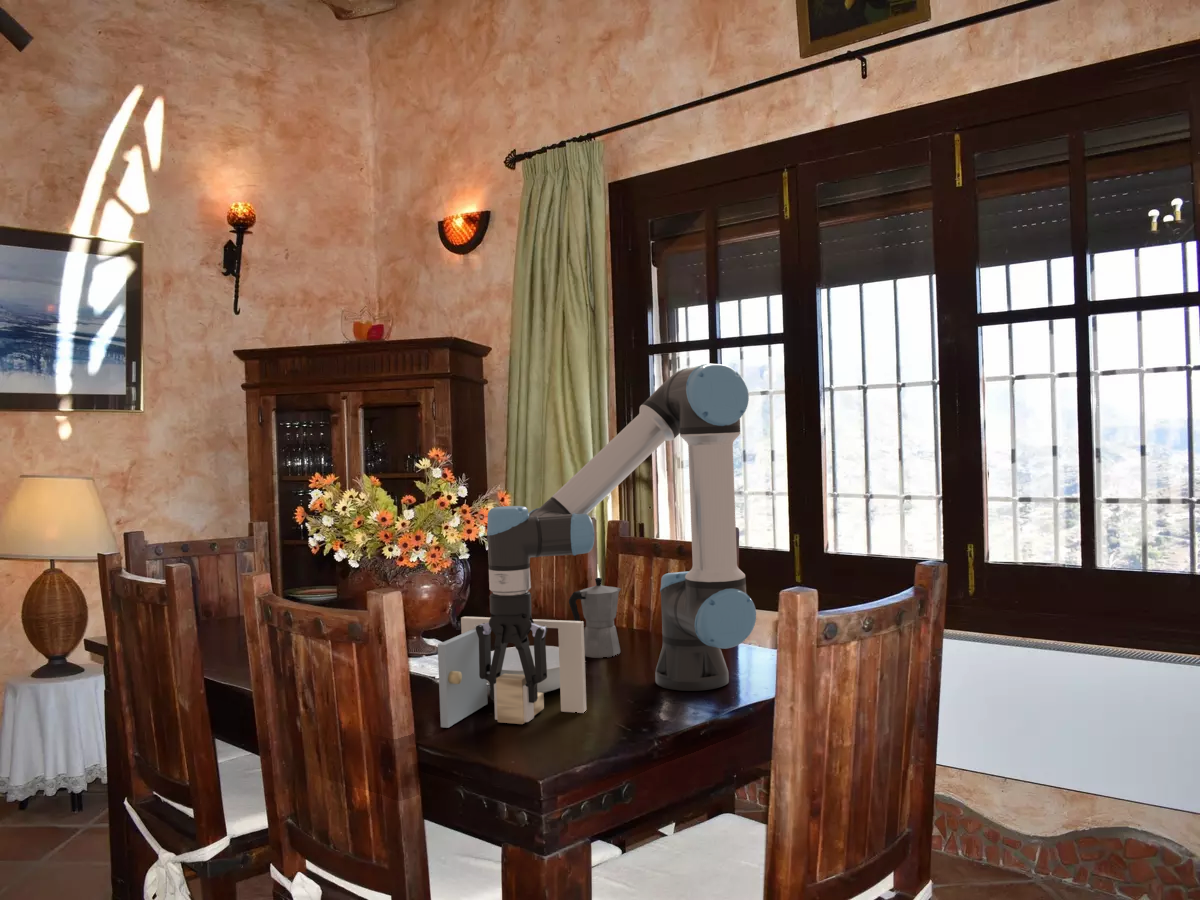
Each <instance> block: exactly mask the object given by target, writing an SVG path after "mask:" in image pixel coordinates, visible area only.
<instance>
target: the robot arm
mask: <svg viewBox="0 0 1200 900" xmlns="http://www.w3.org/2000/svg"><path fill="white" fill-rule="evenodd" d="M749 395H750V394H749V389H748V386H747V384H746V381H745V379H744V378H743V377H742V375H741V374H739V372H738V371H736V370H735V369H734V368H732V367H730V366H729V365H724V364H720V363H706V364H701V365H698V366H694V367H693V366H692V367H687V368H681V369H680V370H678V371H676V372H674V373H673V374H672V375H671V376H669V377H668V378H667V379H666V380H665V381H664V382H663V383H662V384H661V385H660V386H659V387H658V388H657V389H656V390H655V391H654V392H653V393H652V394H651V395H650V396H649V397H648V398H647V399H646V400H645V401H644V402H642V403H641V405H640V406H639V413H638V414H637V416H635V417H634V418H633V419H632V420H631V421H630V422H629V423H627V425H626V426H625V427H624V428H623V429H622V430H620V431H619V433H617V434H616V435H615V436H614V437H613V438H612V439H611V440H610V441H609V442H607V444H606V445H605V446H604V447H602V449H600V450H599V451H598V452H597V453H596V454H595V455H594V456H593V457H592V458H591V459H590V460H589V461H588V462H586V463H585V465H583V467H581V469H579V470H578V471H577V472H576V473H575V474H574V475H572V477H571V478H570V479H569V480H567V482H566V483H564V485H563V486H561V487H560V488H559V489H558V490H557V491H556V492H555V493H554V494H553V495H552V496H551V497H550V498H549V499H548V500H546V501H545V502H544V503H543V504H542V505H541V506H540V507H538V508H535V509H532V510H530V511H529V509H528V508H527V507H526V506H522V505H507V506H506V505H505V506H496V507H492V508H491V509H490V510H489V511H488V513H487V530H486V535H487V553H488V554H487V557H488V558H487V559H488V584H489V590H490V591H491V593H490V595H489V613H490V617H489V618H490V620H489V622H488V623H482V624H480V625H478V626H476V632H477V635H478V638H479V676H480V678H481V679H486V680H488V681H489V683H490V685H489V698H490V700H491V701H493V703H494V720H497V721H498V717H497V685H496V678H498V677H499V676H501V671H502V666H503V661H504V656H505V652H506V648H508V647H507V646H508V645H509V643H511V644H513V645H514V647H516V649H517V650H518V653H519V657H520V660H521V664H522V668H523V671H524V675H525V679H526V682H527V683H526V684H525V685H524V686H523V705H524V722H525V723H529V722H530V721H531V720H534V719H535V716H534V704H533V703H534V702H536V701H537V699H538V693H537V684H538V683H540V682H542V681H543V680H545V679H546V678H547V665H546V646H547V644H546V637H547V634H548V630H549V628H547V626H539V625H537V624H534V621H533V617H532V593H531V592H530V591H529V590H531V588H532V582H531V558H540V557H553V556H555V557H558V556H577V555H583V554H588V553H590V552H591V551H592V550H593V547H594V544H595V528H594V523H593V520H592V518H591V516H590V515H589V514H590V513H591V512H592V511H593V510H594V509H595V508H596V507H597V506H598V505H599V504H600V503H601V502H602V501H604V500H605V498H606V497H608V495H610V494H611V493H612V492H613V491H614V490H615V489H616V488H617V487H618V486H619V485H620V484H621V483H622V482H623V481H624V480H625V479H627V478H628V477H629V475H630V474H632V473H633V472H634V471H635V470H636V469H637V468H638V467H639V466H640V465H641V464H642V463H643V462H644V461H646V459H647V458H649V456H651V455H652V454H653V453H654V451H656V450H657V449H658V448H659V447H660V446H661V445H662V444H664V442H666V441H668V442H671V441H674V439H676V437H678V436H680V438H681V439H683V441H685V442H686V444H687V445H688V450H687V451H688V472H689V475H688V476H689V495H690V496H689V499H690V500H689V502H690V525H691V526H690V527H691V528H690V529H691V530H690V532H691V554H692V555H691V556H692V567H691V569H690V570H689V571H679V572H676V571H675V572H668V573H665V574H663V575H662V576H661V578H660V579H661V580H660V589H659V593H660V605H661V609H660V610H661V624H662V625H661V627H662V628H661V630H662V631H661V633H662V648H661V651H660V654H659V658H658V662H657V665H656V668H655V684H656V685H657V686H659V687H661V688H662V689H663V688H664V689H667V690H673V691H674V690H675V691H683V692H691V691H692V692H694V691H695V692H698V691H701V692H702V691H709V690H715V689H718V688H722V687H724V686H726V685H728V684H729V682H730V681H729V670H728V667H727V663H726V660H725V658H724V654H723V652H722V649H723V650H724V649H725V650H727V649H731V648H734V647H738V646H740V645H741V644H742V643H744V642H745V641H746V640H747V638H748V637H749V636H750V635H751V634H752V632H753V631H754V629H755V627H756V626H755V625H756V622H757V609H756V605H755V603H754V601H753V600H752V598H751V597H750V595H748V593H747V583H746V574H745V573H744V572H743V571H742V570H741V569H740V568H739V567H738V556H737V527H736V500H735V499H736V497H735V473H734V470H735V469H734V465H735V464H734V442H735V441H736V439H738V437H739V436H740V435H741V418H742V417H743V416H744V414H745V412H746V411H747V409H748V406H749V400H750V399H749V397H750V396H749ZM491 632H493V634H494V635H495V639H494V640H495V641H494V650H493V651H494V655H493V659H492V664H491V651H492V648H491V647H492V645H491V644H492V643H491V642H492V641H491V640H492V637H491ZM530 632H532V637H533V646H534V657H535V666H534V662H533V658H532V655H531V651H530V647H529V646H530V640H529V634H530Z"/></svg>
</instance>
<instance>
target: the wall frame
mask: <svg viewBox="0 0 1200 900" xmlns="http://www.w3.org/2000/svg"><path fill="white" fill-rule="evenodd" d="M490 618H491V617H487V616H486V617H485V616H462V617H460V624H461V625H460V626H461V627H460V628H461V634H463V633H465V632H468V631H470V630H472V629H474V628H476V626H478V625H480V624H482V623H488V622H489V620H490ZM532 619H533V618H532ZM533 621H534V624H537V625H539V626H547V628H548V629H557V633H558V635H557V637H558V647H559V667H560V688H559V689H560V695H559V697H560V712H564V713H575V712H577V714H578V713H579V714H585V713H586V712H587V711H586V710H587V686H586V685H587V684H586V683H587V682H586V656H585V650H584V630H585V627H584V626H585V624H584V622H585V621H583V620H582V621H581V620H580V621H575V620H561V619H560V620H558V619H557V620H556V619H537V618H536V619H535V618H534V619H533ZM585 711H586V712H585ZM584 712H585V713H584Z"/></svg>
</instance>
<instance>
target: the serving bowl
mask: <svg viewBox="0 0 1200 900" xmlns="http://www.w3.org/2000/svg"><path fill="white" fill-rule="evenodd" d="M529 647H530V651H531V655H532V658H533V662H534V666H535V657H534V645H529ZM493 655H494V650H491V664H492V659H493ZM546 665H547V678H546V679H545V680H543V681H542V682H540V683H538V684H537V692H541V693H544V694H545V693H548V692H551V691H556V690H559V689H560V667H559V646H554V645H546ZM503 674H521V675H524V671H523V668H522V664H521V660H520V657H519V653H518V650H517V649H516V647H515V646H513V647H506V652H505V656H504V661H503V666H502V671H501V675H503ZM487 686H490V683H489V681H488V680H487Z"/></svg>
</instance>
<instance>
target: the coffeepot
mask: <svg viewBox="0 0 1200 900" xmlns="http://www.w3.org/2000/svg"><path fill="white" fill-rule="evenodd" d="M594 580H595V585H594V586H590V587H587V588H583V589H581V590H576V591H574V592H573V593H572V594H571V595H570V597H569V598H568V603H569V607H570V610H571V613H572V616H573V619H574V621H581V620H580V619H581V618H580V613H579V609H578V605H577V603H576V602H577V601H578V600H580V603H581V608H582V613H583V619H585V621H584V625H585V627H584V650H585V658H586V657H587V658H593V659H603V657H607V658H612V656H613V657H615V655H616V656H618V655H620V653H621V652H622V651H621V646H620V643H619V642H620V641H619V637H618V632H617V627H616V625H615V619H616V618H617V610H618V602H619V592H620V591H621V590H622V588H620V587H615V586H607V585H602V581H603V578H601V577H596V578H594ZM617 654H618V655H617Z"/></svg>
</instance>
